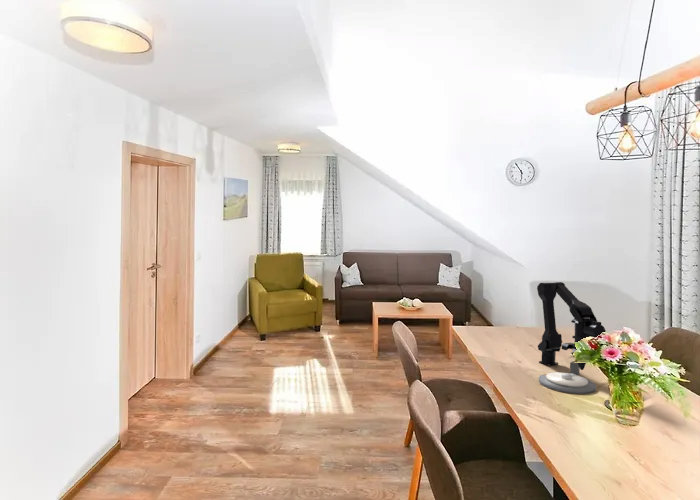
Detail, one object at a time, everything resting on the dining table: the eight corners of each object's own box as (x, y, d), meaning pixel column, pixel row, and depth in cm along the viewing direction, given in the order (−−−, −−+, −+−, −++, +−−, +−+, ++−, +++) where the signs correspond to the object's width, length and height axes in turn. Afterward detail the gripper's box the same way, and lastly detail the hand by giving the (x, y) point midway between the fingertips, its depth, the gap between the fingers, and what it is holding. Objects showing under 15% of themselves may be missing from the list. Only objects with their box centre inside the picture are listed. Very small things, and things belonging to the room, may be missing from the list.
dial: (580, 389, 175) (580, 375, 175) (540, 380, 187) (540, 367, 186) (595, 379, 189) (595, 366, 189) (557, 370, 200) (557, 358, 200)
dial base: (558, 373, 202) (558, 370, 202) (606, 388, 183) (606, 384, 183) (527, 381, 190) (528, 377, 190) (576, 397, 172) (576, 393, 171)
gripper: (614, 337, 184) (614, 374, 183) (581, 330, 202) (581, 363, 202) (592, 338, 181) (592, 375, 181) (560, 330, 199) (560, 365, 199)
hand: (581, 369), depth 191 cm, fingers closed
